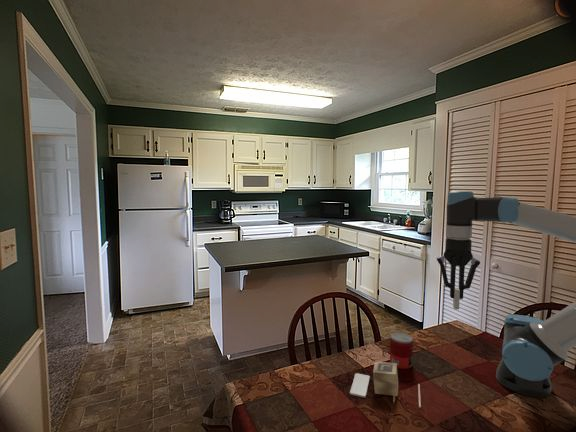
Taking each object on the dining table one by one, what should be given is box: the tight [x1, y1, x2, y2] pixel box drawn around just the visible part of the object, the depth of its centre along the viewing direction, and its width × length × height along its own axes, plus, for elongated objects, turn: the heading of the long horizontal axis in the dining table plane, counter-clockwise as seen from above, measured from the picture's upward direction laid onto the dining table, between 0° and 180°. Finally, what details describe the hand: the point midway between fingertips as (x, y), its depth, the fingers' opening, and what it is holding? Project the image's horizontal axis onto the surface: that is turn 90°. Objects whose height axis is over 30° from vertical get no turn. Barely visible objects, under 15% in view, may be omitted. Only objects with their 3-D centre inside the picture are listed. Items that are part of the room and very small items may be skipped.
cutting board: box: [349, 372, 422, 409], centre depth 104 cm, size 30×12×1 cm, turn 69°
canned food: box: [389, 332, 414, 370], centre depth 120 cm, size 8×8×11 cm
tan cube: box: [372, 361, 399, 397], centre depth 105 cm, size 7×7×7 cm
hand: (456, 307), depth 107 cm, fingers closed
